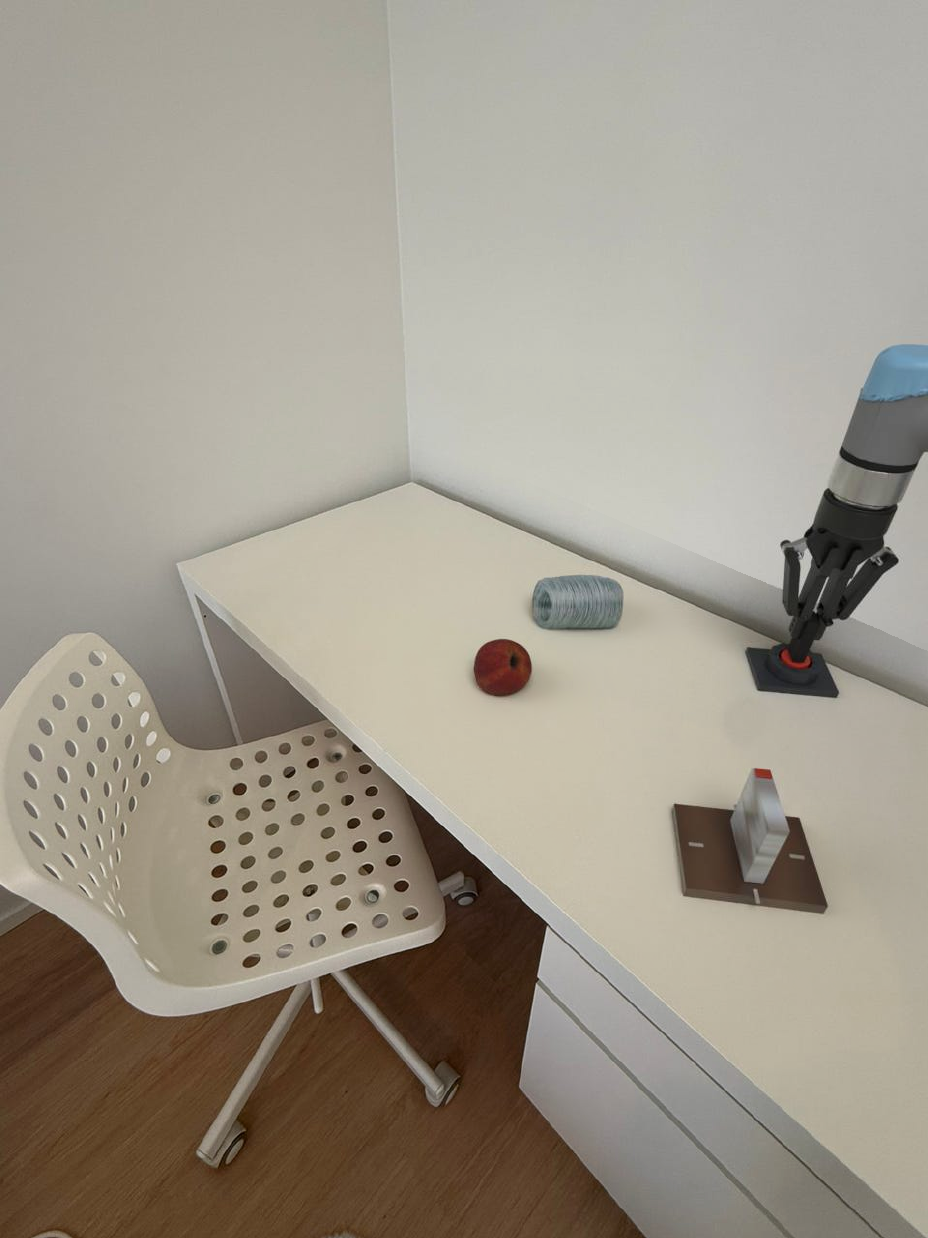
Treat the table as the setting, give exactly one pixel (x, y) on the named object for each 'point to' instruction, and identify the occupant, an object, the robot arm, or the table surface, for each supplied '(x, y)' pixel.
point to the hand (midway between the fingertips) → (795, 655)
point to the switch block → (790, 673)
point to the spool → (577, 602)
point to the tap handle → (758, 825)
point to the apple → (502, 667)
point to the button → (797, 665)
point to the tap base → (718, 870)
